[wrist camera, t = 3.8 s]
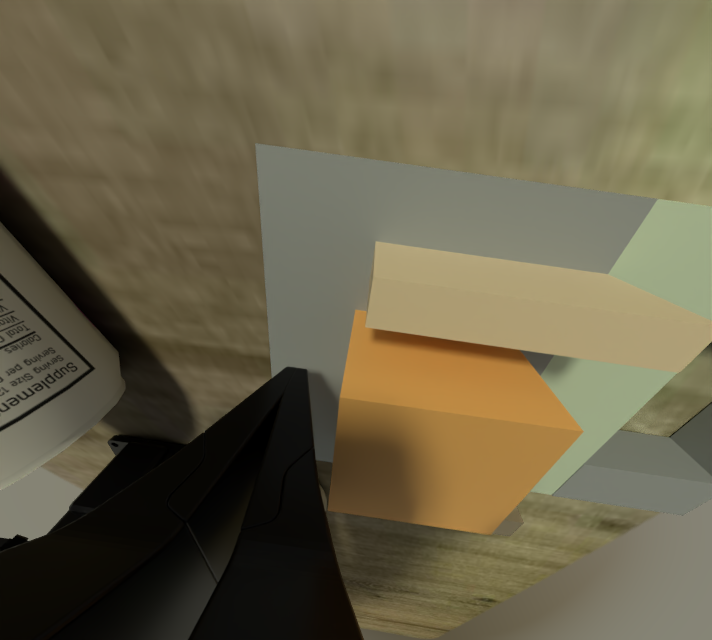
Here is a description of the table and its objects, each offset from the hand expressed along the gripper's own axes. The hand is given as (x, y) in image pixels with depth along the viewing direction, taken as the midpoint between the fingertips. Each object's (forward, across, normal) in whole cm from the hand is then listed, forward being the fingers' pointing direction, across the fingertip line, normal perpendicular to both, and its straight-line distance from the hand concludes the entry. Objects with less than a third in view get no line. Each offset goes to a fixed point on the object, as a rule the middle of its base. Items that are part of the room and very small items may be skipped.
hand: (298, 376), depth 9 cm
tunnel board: (+4, -10, 0) cm, 10 cm away
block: (+1, -4, 0) cm, 4 cm away
